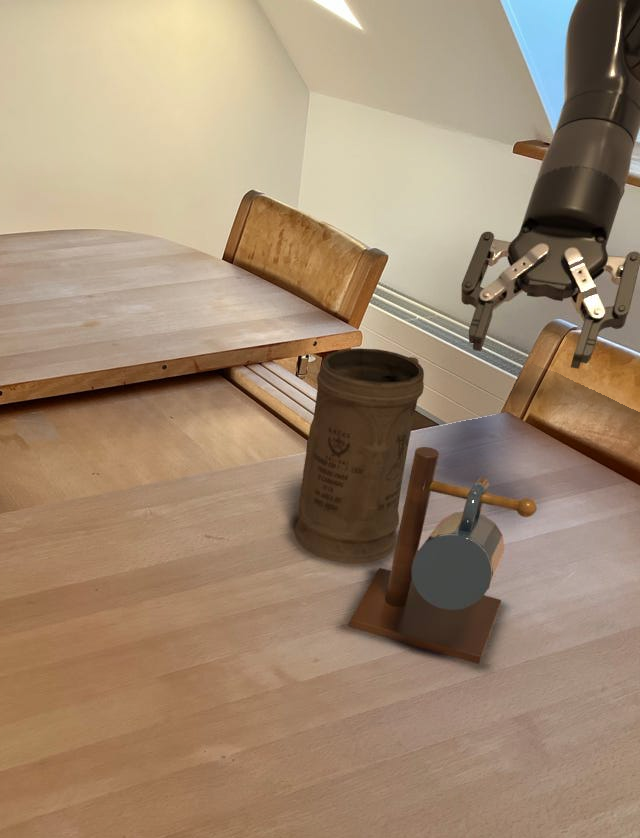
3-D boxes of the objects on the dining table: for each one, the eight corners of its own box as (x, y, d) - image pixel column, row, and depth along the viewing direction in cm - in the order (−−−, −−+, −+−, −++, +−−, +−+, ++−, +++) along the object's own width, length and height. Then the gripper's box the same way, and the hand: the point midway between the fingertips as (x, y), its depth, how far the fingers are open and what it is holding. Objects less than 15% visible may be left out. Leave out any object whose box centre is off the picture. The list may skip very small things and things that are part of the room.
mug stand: (506, 614, 93) (554, 453, 83) (486, 672, 86) (536, 504, 76) (376, 580, 98) (407, 422, 87) (347, 632, 90) (377, 467, 80)
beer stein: (372, 583, 97) (413, 388, 86) (274, 552, 101) (302, 363, 90) (417, 526, 108) (459, 348, 97) (328, 500, 112) (358, 327, 101)
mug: (403, 598, 82) (422, 570, 90) (479, 619, 80) (492, 588, 88) (432, 485, 78) (450, 466, 86) (513, 504, 76) (524, 482, 84)
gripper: (498, 154, 86) (444, 321, 85) (671, 173, 81) (617, 350, 80) (495, 205, 93) (445, 360, 92) (654, 225, 88) (604, 389, 87)
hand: (525, 355), depth 86 cm, fingers open, 8 cm apart
